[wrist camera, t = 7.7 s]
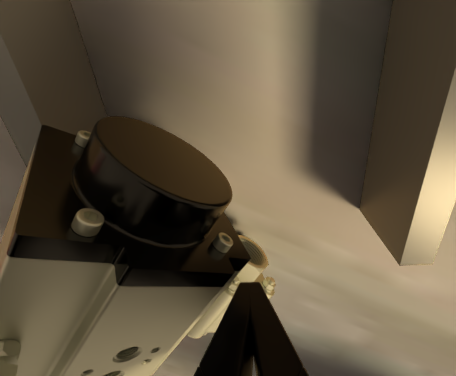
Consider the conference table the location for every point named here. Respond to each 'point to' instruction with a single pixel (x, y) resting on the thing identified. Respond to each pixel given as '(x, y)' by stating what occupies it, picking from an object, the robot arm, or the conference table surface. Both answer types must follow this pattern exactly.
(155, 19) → the conference table surface
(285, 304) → the conference table surface
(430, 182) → the housing bay
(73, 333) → the pneumatic valve
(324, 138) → the conference table surface
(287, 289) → the conference table surface
